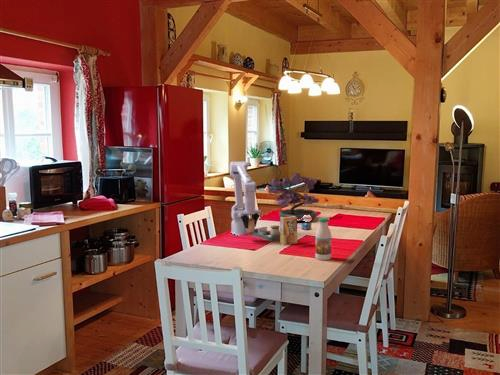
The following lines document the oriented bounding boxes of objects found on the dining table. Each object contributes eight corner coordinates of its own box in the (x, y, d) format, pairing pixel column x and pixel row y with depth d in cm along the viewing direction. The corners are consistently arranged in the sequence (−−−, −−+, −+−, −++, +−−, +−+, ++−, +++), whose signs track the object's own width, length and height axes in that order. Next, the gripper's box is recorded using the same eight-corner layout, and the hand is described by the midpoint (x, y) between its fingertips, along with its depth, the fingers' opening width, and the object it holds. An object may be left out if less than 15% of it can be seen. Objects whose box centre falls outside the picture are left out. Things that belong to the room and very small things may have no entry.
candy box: (293, 242, 270) (293, 215, 268) (297, 244, 266) (297, 217, 264) (279, 244, 266) (279, 217, 264) (283, 246, 262) (283, 218, 260)
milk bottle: (313, 256, 241) (313, 217, 238) (329, 256, 241) (329, 216, 239) (317, 260, 233) (317, 220, 231) (333, 260, 234) (333, 219, 231)
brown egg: (268, 238, 278) (268, 226, 277) (275, 237, 281) (275, 225, 280) (274, 239, 274) (274, 227, 273) (281, 238, 277) (281, 226, 276)
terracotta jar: (244, 231, 273) (243, 218, 272) (251, 229, 276) (251, 217, 275) (249, 232, 269) (249, 220, 268) (256, 231, 272) (256, 219, 271)
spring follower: (255, 234, 288) (255, 227, 287) (263, 233, 291) (263, 225, 291) (259, 235, 284) (259, 228, 284) (267, 234, 288) (267, 226, 287)
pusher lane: (248, 236, 288) (248, 229, 288) (264, 233, 295) (264, 227, 295) (271, 242, 270) (271, 236, 270) (287, 239, 277) (287, 233, 277)
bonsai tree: (320, 216, 345) (321, 171, 341) (315, 224, 319) (315, 175, 315) (273, 215, 355) (272, 171, 351) (264, 222, 329) (263, 174, 325)
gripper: (243, 206, 263) (243, 230, 265) (264, 203, 271) (264, 227, 273) (236, 204, 269) (236, 228, 270) (257, 201, 277) (257, 225, 279)
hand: (250, 227), depth 272 cm, fingers closed on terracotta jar, 5 cm apart
